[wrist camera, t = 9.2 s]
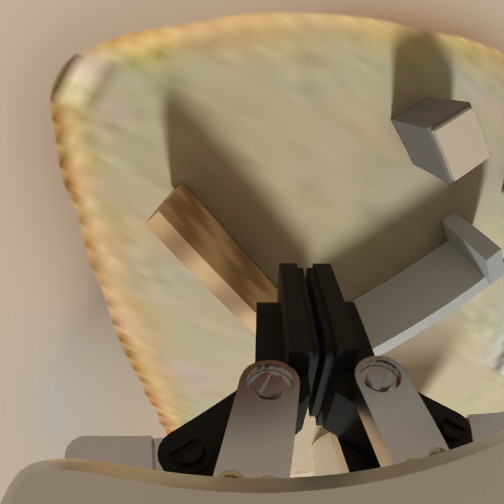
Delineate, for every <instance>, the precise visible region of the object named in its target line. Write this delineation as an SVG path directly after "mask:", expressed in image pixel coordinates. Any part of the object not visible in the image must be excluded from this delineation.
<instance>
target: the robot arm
mask: <svg viewBox="0 0 504 504" xmlns="http://www.w3.org/2000/svg"><path fill="white" fill-rule="evenodd" d="M307 407H308V409H309V415H310V416H315V418H316V425H323V427H324V428H325V429H326V430H328V431H329V432H331V440H332V443H333V446H334V449H335V452H336V455H337V458H338V461H339V464H340V467H341V470H342V473H341V474H333V475H323V476H311V477H295V478H289V477H290V470H291V462H292V455H293V446H294V438H295V435H296V434H297V433H298V432H299V431H300V430H301V429H302V426H303V423H304V419H305V415H306V411H307ZM1 504H504V412H500V413H489V414H474V415H468V416H467V417H466V418H464V417H463V416H462V415H460V414H459V413H457V412H455V411H453V410H451V409H449V408H447V407H445V406H443V405H442V404H440V403H438V402H436V401H434V400H432V399H430V398H428V397H426V396H424V395H422V394H420V393H419V392H417V390H416V388H415V387H414V385H413V383H412V382H411V380H410V378H409V377H408V375H407V373H406V372H405V370H404V369H403V367H402V366H401V365H400V364H399V363H398V362H396V361H395V360H393V359H391V358H388V357H384V356H375V355H374V352H373V349H372V347H371V344H370V341H369V339H368V336H367V333H366V331H365V328H364V325H363V323H362V320H361V318H360V315H359V312H358V310H357V307H356V305H355V303H354V302H344V299H343V297H342V294H341V291H340V289H339V286H338V283H337V280H336V278H335V275H334V272H333V270H332V267H331V265H330V264H313V267H312V268H307V271H306V280H305V276H304V271H303V268H297V264H285V263H280V265H279V280H278V298H277V302H257V305H256V356H255V363H253V364H251V365H249V366H248V367H247V368H246V369H245V370H244V371H243V373H242V375H241V377H240V380H239V384H238V388H237V390H236V391H235V392H234V393H232V394H231V395H229V396H228V397H226V398H225V399H223V400H222V401H220V402H219V403H217V404H216V405H214V406H213V407H211V408H210V409H208V410H206V411H205V412H203V413H202V414H200V415H199V416H197V417H196V418H194V419H192V420H191V421H189V422H188V423H186V424H184V425H183V426H181V427H179V428H178V429H176V430H174V431H173V432H171V433H170V434H168V435H167V436H166V437H165V438H156V439H153V438H152V436H82V437H78V438H76V439H75V440H72V442H71V443H70V444H69V445H68V446H67V449H66V453H65V459H53V460H45V461H40V462H36V463H33V464H31V465H29V466H27V467H25V468H24V469H22V470H21V471H20V472H19V473H18V474H17V475H16V477H15V478H14V479H13V481H12V482H11V484H10V485H9V487H8V489H7V491H6V493H5V495H4V497H3V500H2V502H1Z"/></svg>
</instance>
